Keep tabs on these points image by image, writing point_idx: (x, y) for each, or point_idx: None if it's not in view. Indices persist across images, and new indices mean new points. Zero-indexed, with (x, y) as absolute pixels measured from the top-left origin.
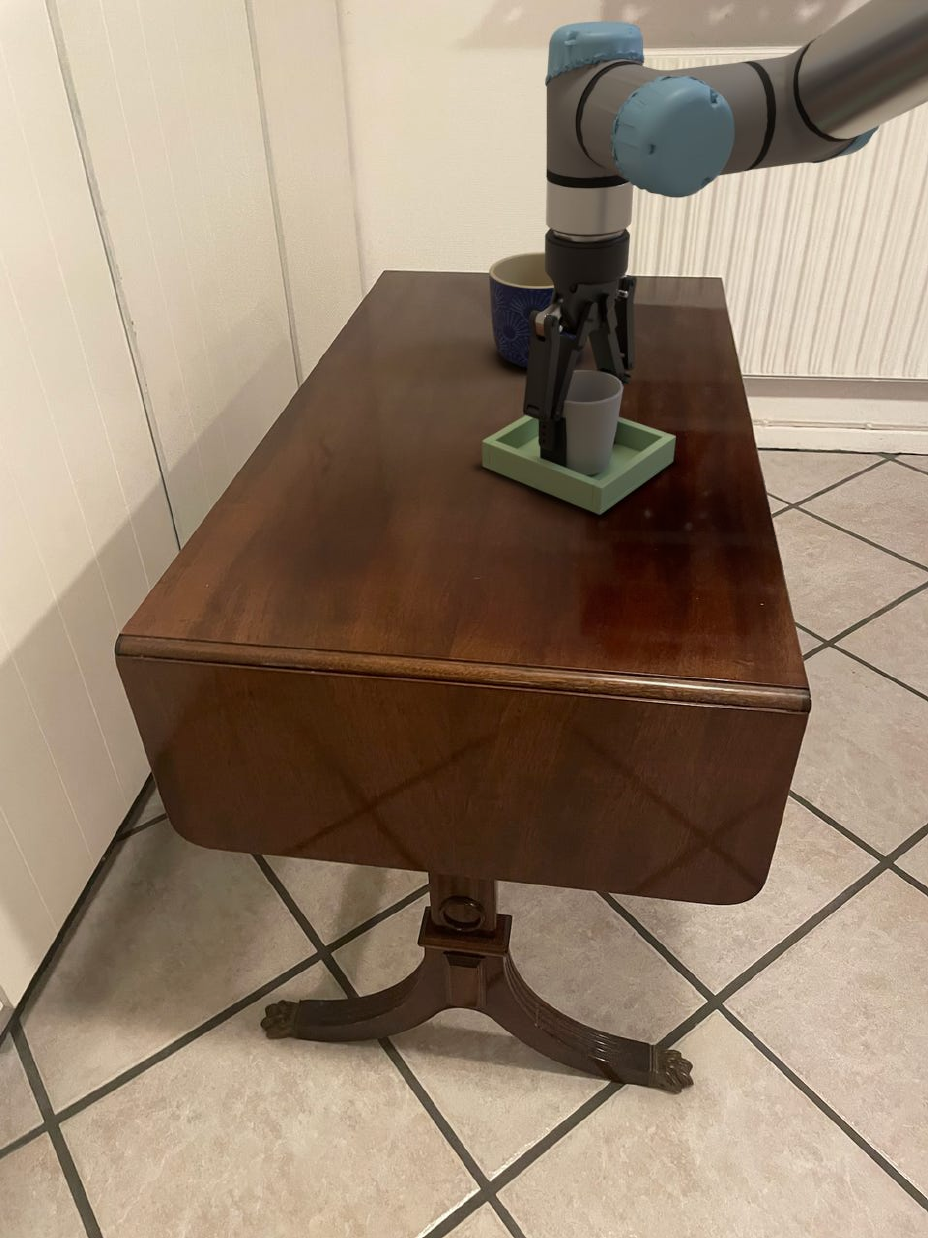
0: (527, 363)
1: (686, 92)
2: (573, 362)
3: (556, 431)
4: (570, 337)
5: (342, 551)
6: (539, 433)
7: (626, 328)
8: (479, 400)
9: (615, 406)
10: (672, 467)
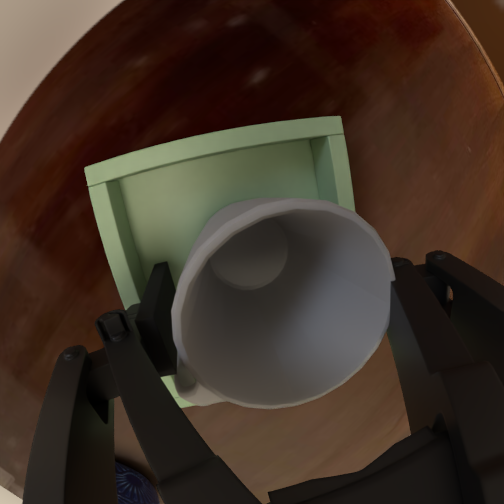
0: (138, 474)
1: None
2: (433, 341)
3: None
4: None
5: (492, 267)
6: None
7: (69, 450)
8: (227, 452)
9: (265, 201)
10: (115, 154)
